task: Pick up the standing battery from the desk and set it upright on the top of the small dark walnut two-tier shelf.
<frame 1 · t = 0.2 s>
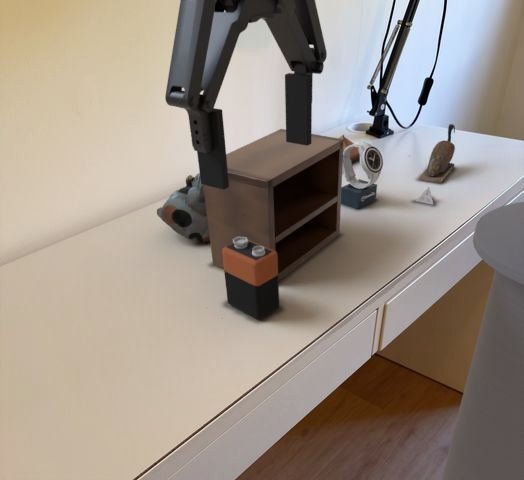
hand: (260, 162, 52), 24 cm above the table, tool pointing down, fingers open, 13 cm apart
battery: (253, 307, 76), on the table
watch: (358, 202, 103), on the table
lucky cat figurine: (207, 228, 97), on the table
figurine: (439, 171, 113), on the table
sunglasses case: (334, 164, 120), on the table
tetrahedral die: (427, 201, 101), on the table
shelf: (278, 249, 89), on the table
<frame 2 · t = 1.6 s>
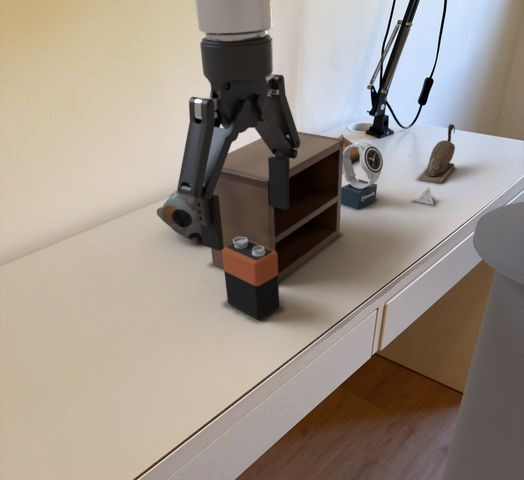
hand: (248, 226, 67), 13 cm above the table, tool pointing down, fingers open, 13 cm apart
nothing on the table moved.
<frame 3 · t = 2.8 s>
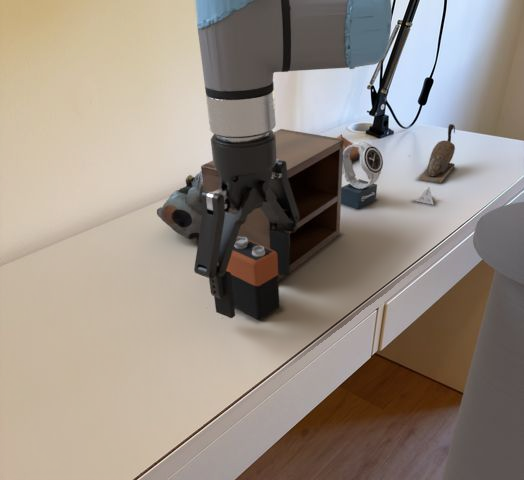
hand: (254, 292, 74), 3 cm above the table, tool pointing down, fingers open, 12 cm apart
nothing on the table moved.
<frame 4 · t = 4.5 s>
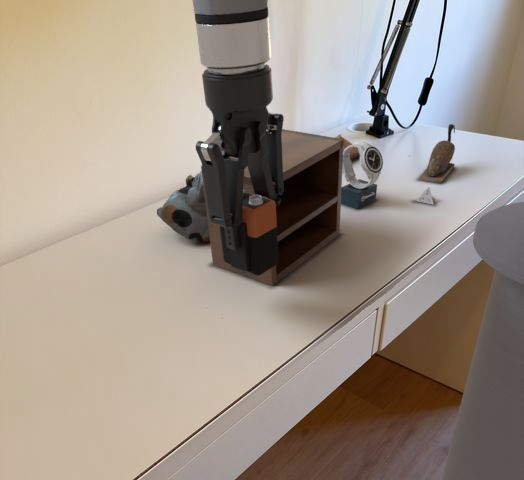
hand: (253, 258, 71), 8 cm above the table, tool pointing down, fingers closed on battery, 5 cm apart
battery: (251, 264, 72), point 7 cm above the table, touching gripper
everything else where it was.
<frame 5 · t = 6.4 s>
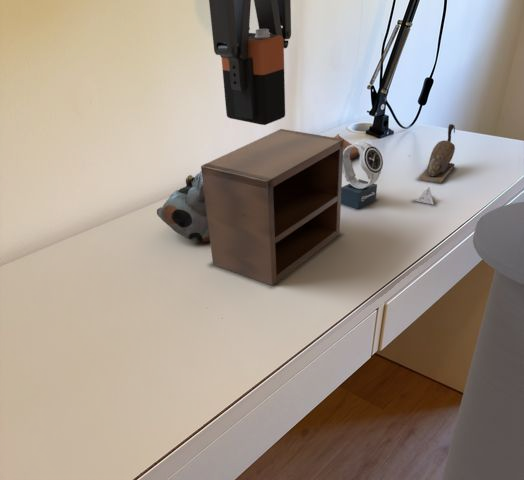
hand: (258, 111, 67), 24 cm above the table, tool pointing down, fingers closed on battery, 5 cm apart
battery: (255, 119, 68), point 23 cm above the table, touching gripper
everything else where it was.
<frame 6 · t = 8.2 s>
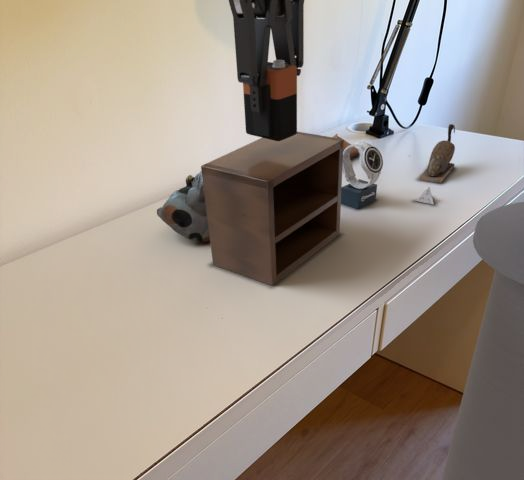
hand: (274, 129, 77), 19 cm above the table, tool pointing down, fingers closed on battery, 5 cm apart
battery: (271, 136, 78), point 18 cm above the table, touching gripper
when the fingers open (17 cm above the table, at t = 9.2 s): battery stays where it is, resting on shelf.
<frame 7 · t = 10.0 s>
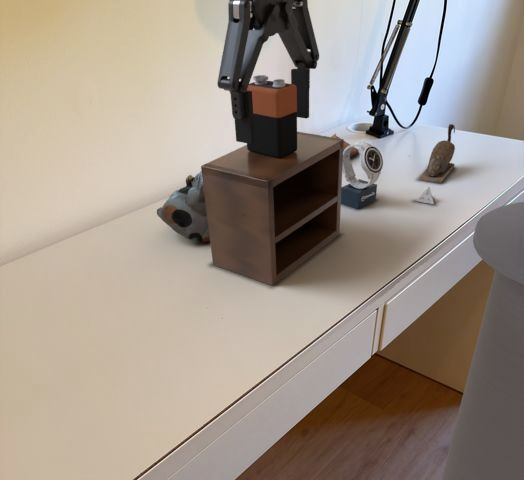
hand: (274, 129, 77), 19 cm above the table, tool pointing down, fingers open, 13 cm apart
battery: (272, 152, 79), point 16 cm above the table, touching shelf
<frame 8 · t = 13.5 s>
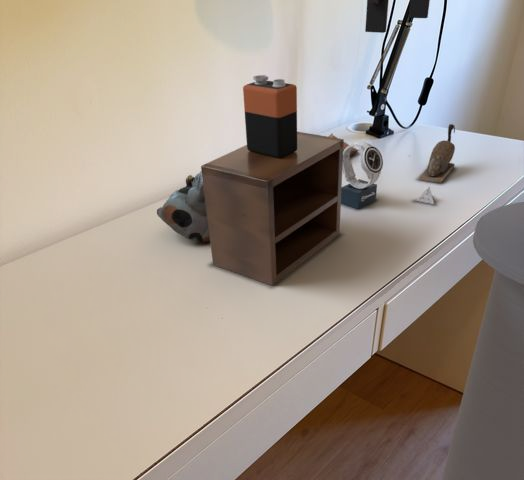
hand: (397, 24, 75), 31 cm above the table, tool pointing down, fingers open, 13 cm apart
at the end: battery inside the target area on the shelf (0.6 cm from its centre), point 16.0 cm above the shelf's base; battery tilted 0°; the gripper is holding nothing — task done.
